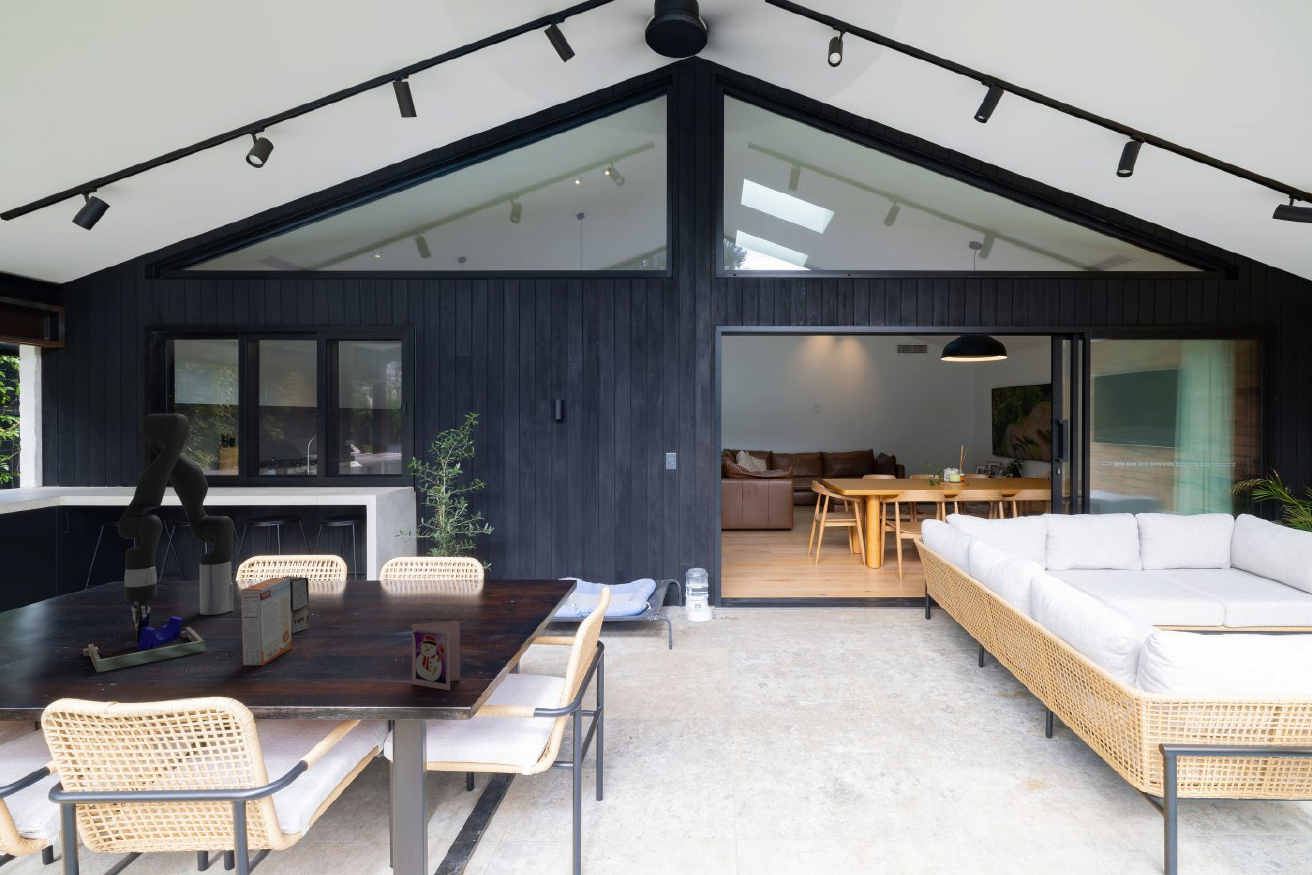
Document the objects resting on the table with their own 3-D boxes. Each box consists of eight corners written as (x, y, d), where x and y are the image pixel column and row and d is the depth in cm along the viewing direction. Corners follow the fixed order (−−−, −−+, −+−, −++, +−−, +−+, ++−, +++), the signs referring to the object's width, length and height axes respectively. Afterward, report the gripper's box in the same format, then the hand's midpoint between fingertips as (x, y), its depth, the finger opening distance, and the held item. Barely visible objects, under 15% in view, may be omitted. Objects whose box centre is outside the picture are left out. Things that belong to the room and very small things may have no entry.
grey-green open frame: (192, 633, 210) (192, 623, 210) (209, 650, 194) (209, 639, 194) (83, 653, 191) (83, 642, 191) (92, 673, 176) (91, 661, 176)
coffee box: (310, 627, 216) (309, 577, 215) (293, 633, 210) (292, 581, 209) (288, 625, 219) (287, 575, 218) (271, 630, 213) (270, 579, 212)
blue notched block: (165, 633, 206) (169, 614, 206) (178, 637, 206) (183, 618, 206) (132, 646, 194) (137, 626, 194) (147, 650, 194) (151, 630, 194)
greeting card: (409, 685, 168) (409, 625, 168) (429, 674, 175) (429, 617, 175) (447, 691, 164) (447, 630, 164) (466, 680, 171) (466, 621, 171)
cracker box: (271, 649, 195) (271, 576, 195) (292, 649, 195) (291, 577, 195) (240, 666, 181) (239, 588, 181) (262, 666, 181) (261, 588, 180)
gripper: (160, 584, 196) (161, 643, 196) (152, 577, 205) (153, 633, 206) (127, 588, 191) (128, 649, 191) (121, 581, 200) (122, 639, 200)
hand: (141, 641), depth 198 cm, fingers closed
